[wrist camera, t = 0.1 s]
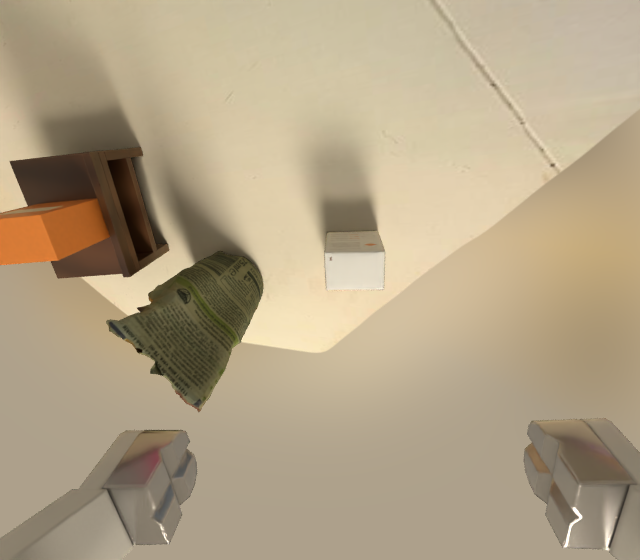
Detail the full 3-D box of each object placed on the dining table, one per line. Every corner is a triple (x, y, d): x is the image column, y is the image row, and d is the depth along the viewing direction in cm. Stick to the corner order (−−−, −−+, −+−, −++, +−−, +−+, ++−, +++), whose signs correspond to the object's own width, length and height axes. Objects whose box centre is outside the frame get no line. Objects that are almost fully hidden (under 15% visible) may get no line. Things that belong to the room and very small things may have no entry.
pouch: (260, 315, 63) (209, 423, 40) (193, 302, 63) (103, 403, 40) (268, 256, 58) (216, 339, 35) (196, 242, 58) (96, 316, 35)
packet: (37, 203, 47) (-39, 221, 38) (101, 197, 46) (39, 214, 37) (52, 241, 49) (-17, 267, 40) (114, 235, 48) (58, 261, 39)
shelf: (66, 155, 54) (-3, 162, 44) (141, 147, 53) (89, 151, 42) (101, 255, 60) (48, 283, 50) (169, 250, 59) (130, 277, 48)
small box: (328, 264, 58) (324, 291, 48) (327, 231, 56) (322, 252, 46) (378, 264, 57) (384, 291, 48) (379, 229, 55) (385, 251, 46)
